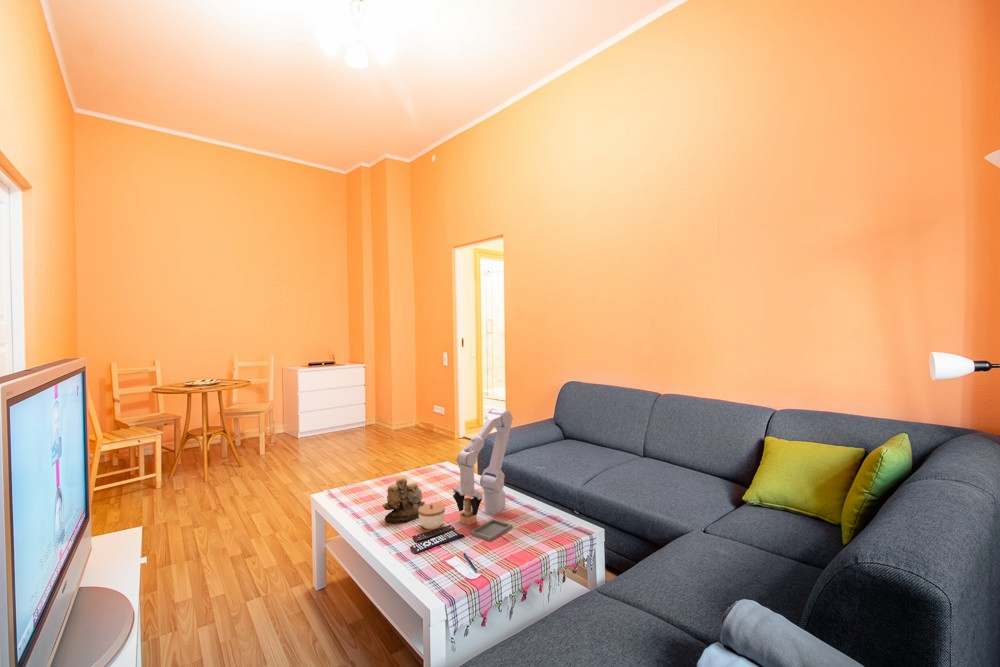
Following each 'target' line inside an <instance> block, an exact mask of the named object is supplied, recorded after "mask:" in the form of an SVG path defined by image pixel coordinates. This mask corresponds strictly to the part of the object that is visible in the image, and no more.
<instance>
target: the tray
mask: <svg viewBox="0 0 1000 667" xmlns="http://www.w3.org/2000/svg"><path fill="white" fill-rule="evenodd" d="M511 529H513V524H511V523H507V522H505V521H501V520H499V519H495V518H491V519H490V520H488V521H486V522H484V523H482V524H481V525H479V526H477V527H475V528H474V529H471V530H470V531H469V535H471V536H474V537H476V538H479V539H482V540H485V541H488V542H492V541H494V540H495V539H497V538H498V537H500V536H502V535H503V534H505V533H506V532H508V531H510V530H511Z"/></svg>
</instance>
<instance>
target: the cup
mask: <svg viewBox="0 0 1000 667" xmlns="http://www.w3.org/2000/svg"><path fill="white" fill-rule="evenodd" d="M459 521H460V522H459V523H460V524H463V525H473V524H475V523H476V522H477V515H475V516H473V514H472V516H471V517H464V511H463V512H462V511H461V512H460V513H459Z"/></svg>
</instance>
